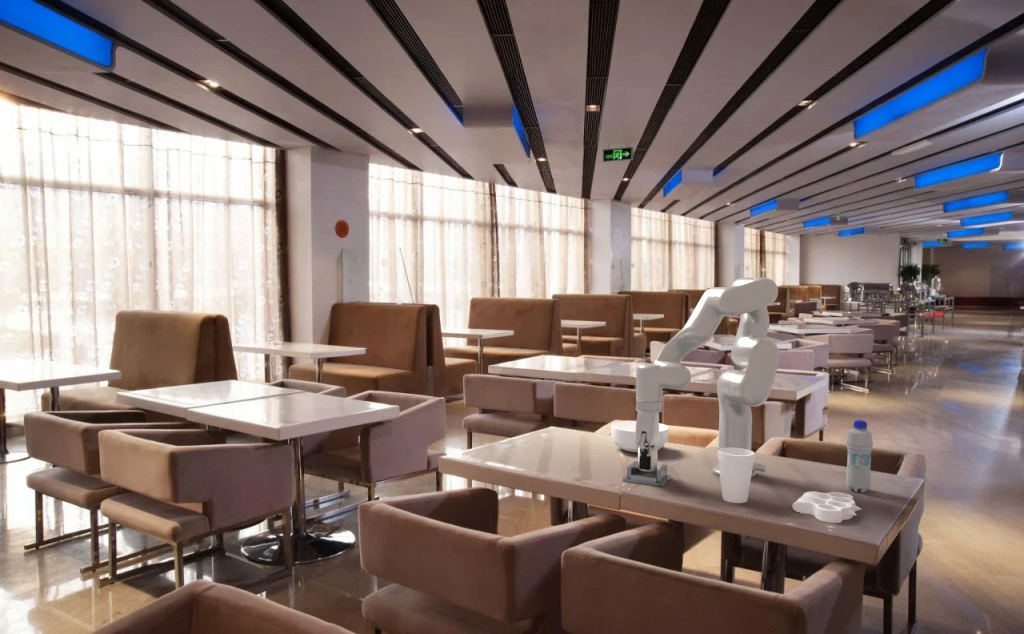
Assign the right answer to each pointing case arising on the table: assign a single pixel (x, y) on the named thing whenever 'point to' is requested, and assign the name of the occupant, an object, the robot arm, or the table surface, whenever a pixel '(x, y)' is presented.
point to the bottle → (859, 457)
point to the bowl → (626, 434)
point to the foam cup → (735, 473)
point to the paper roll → (653, 458)
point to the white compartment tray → (827, 506)
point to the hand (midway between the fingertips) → (647, 466)
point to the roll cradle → (647, 475)
